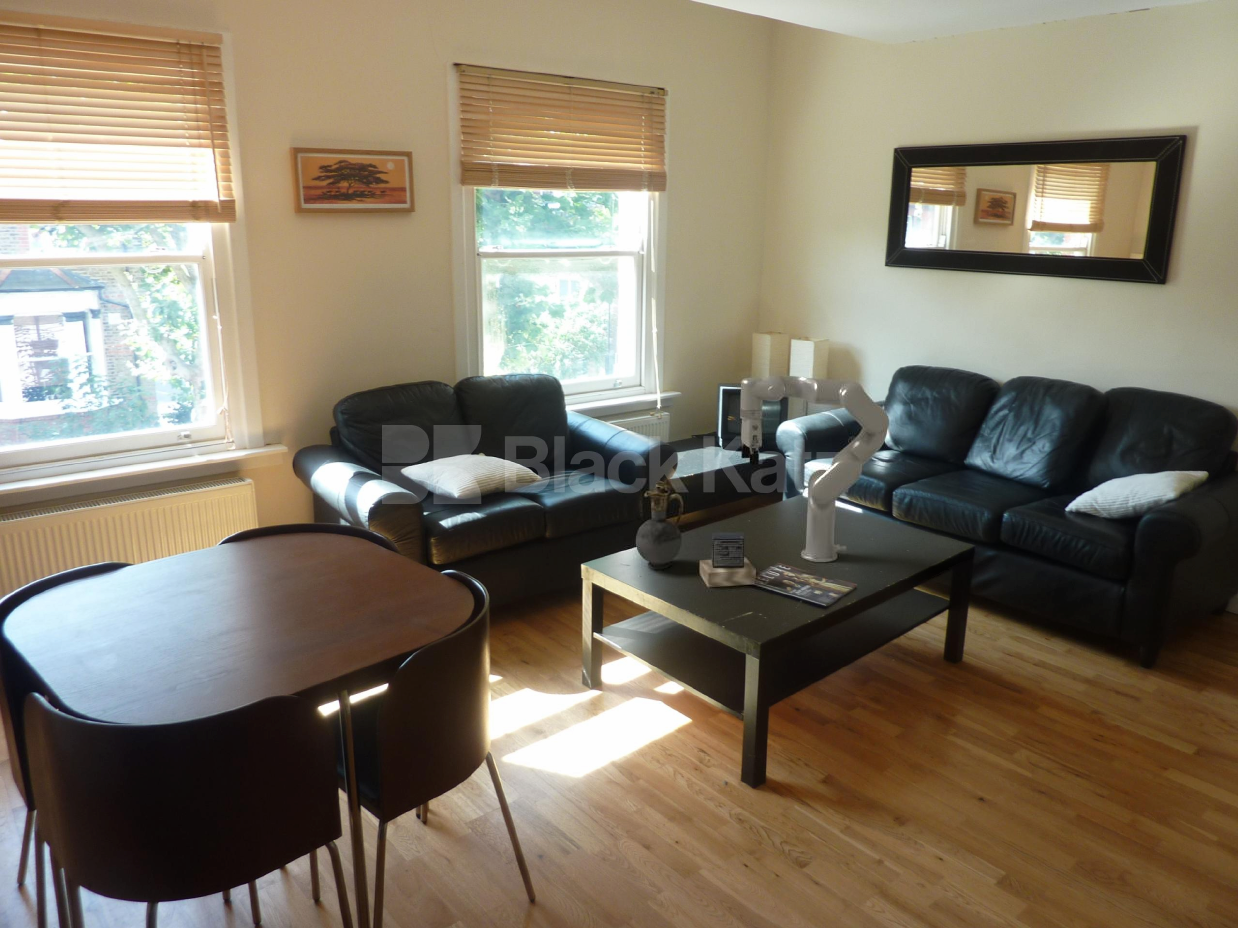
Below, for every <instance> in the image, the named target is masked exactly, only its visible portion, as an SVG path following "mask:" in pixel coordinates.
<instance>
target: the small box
mask: <svg viewBox="0 0 1238 928" xmlns="http://www.w3.org/2000/svg"><path fill="white" fill-rule="evenodd" d="M744 557H745V536H744V533H743V532H711V560H712V567H713V568H744Z"/></svg>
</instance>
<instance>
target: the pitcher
mask: <svg viewBox="0 0 1238 928" xmlns="http://www.w3.org/2000/svg"><path fill="white" fill-rule="evenodd" d="M670 490H671V486H670V485H669V486H668V485H667V484H665V483H664V481H658V482H657V483H656V484H655V488H654V489H649V490H648V489H647V490H646V492H645V493H644V497H645V498H648V497H650V500H651V504H650V505H651V507H650V509H651V519H648V520H646V521H645V522H644V523H643V524H641V525H640V527H639V528H638V530H637V533H636V535H635V547H636V550H637V552H638V554H639V555H640V556H641V558H642V559H643V560H645V561H647V562H648V563H647V567H648V568H649V569H652V570H663V569H668V568H669V567H670V565H671V564H670V562H671V561H673V560H674V559H675V558H676V557H678V555H679V553H680V551H681V546H682V540H683V538H682V533H681V531H680V529H679V527H678V524H679V522H680V519H681V517H682V514H683V511H684V501H683V499H682V496H681V495H680V494H679V493H674V494H671V495H669V494H670V492H671V491H670ZM674 499H676V500H678V502H679V506H680V507H679V509H678V511H679V512H678V517H677V520H676V523H674V522H673V521H671V520H670V519H667V508H668V503H669V502H670V501H672V500H674Z"/></svg>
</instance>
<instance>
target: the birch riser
mask: <svg viewBox="0 0 1238 928" xmlns="http://www.w3.org/2000/svg"><path fill="white" fill-rule="evenodd" d="M756 572H757V570H756V568H755V567H754V566H753V565H752V564H751V562H750V561H749V560H748V559H747V558H746V557H745V556H744V568H713V567H712V559H700V560H699V576H700V577H701V579H702V581H704V583H705V585H706V586H707V587H708V588H715V587H718V588H719V587H730V586H731V587H732V586H744V585H754V584H753V583H755V584H756V577H757V575H756V574H757V573H756Z"/></svg>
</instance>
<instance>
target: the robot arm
mask: <svg viewBox="0 0 1238 928" xmlns="http://www.w3.org/2000/svg"><path fill="white" fill-rule="evenodd" d="M740 383H741V384H740V409H739V411H740V412H739V414H740V415H739V416H740V419H742V420H741V427H740V428H741V431H740V433H741V434H740V439H741V459H749V465H750V466H759V464H760V448H761V447H762V445H763V437H762V436H763V435H762V433H763V432H762V431H763V430H762V420H761V419H762V418H763V403H764V402H763V401H769V402H778V401H780V400H782V399H783V398H785V397H786V398H796V399H801V400H804V401H806V402H808V403H810V404H814V405H824V406H825V405H826V406H828V405H829V406H840V407H843V408H844V409H845V410H846V411H847V412H848V414H849V415H850V416H851V417H852V418H853V419H854V420H855V421H856V422H857V423H858V424H859V425H860V426H861V427H862V428H861V430H860V432H859V434H858V435H857V436H855V438H854V439H853V440H851V442H850V443H849V444H847V445H846V446H845V447H844V448H843V449H841V450H840V451H839V452H838V453H837V454H835V456H833V458H832V463H831V464H832V465H831V466H830V467H829V468H828V469H818V470H815V471H814V472H812V474H811V475H810V477H809V478H808V482H807V514H806V515H807V516H806V534H805V535H806V536H805V539H806V540H805V549H803V550H802V551H801V552H800V553H801V554H800V555H801V557H802V558H803V559H805V560H806V561H809V562H815V563H829V562H833V561H836V560H837V558H838V552H846V551H847V546H846V545H841V544H834V542H835V541H834V539H835V537H834V536H835V519H836V517H835V516H836V502H837V501H836V500H837V499H839V497H841V496H842V495H843V494H844V493H845V492H846V491H848V489H850V488H851V487H852V486H854V485H855V484H856V483H857V482H858V480H859V479H860V477H861V475H862V471H863V465H865V464H866V463H867V462H868V461H869V460H870V459H871V458H873V456H874V455H875V454H876V453H878V452H879V450H880V449H881V448H882V446H883V445H884V443H885V441H886V438H887V434H888V428H889V426H890V418H889V416H888V413H887V411H886V410H885V409H884V407H882V406H881V405H879V404H877V403H875V402H874V400H873V399H872V398H871V397H870V396H869V395H868V393H867V392H866V391H865V390H864V388H863V386H862V385H861V384H860V383H859V382H856V381H851V380H837V379H836V380H835V379H820V378H819V379H818V378H814V377H813V378H810V377H802V376H794V375H778V374H776V375H770V376H768V377H767V378H766V379H765V380H762V379H761V378H758V377H745V378H743V379H742V380H741V382H740Z"/></svg>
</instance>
